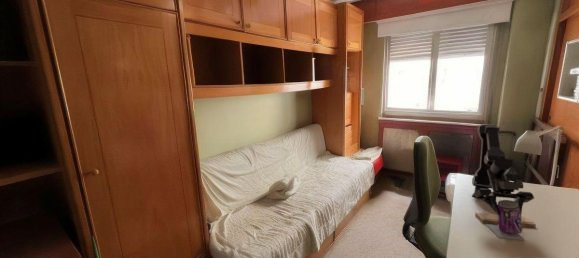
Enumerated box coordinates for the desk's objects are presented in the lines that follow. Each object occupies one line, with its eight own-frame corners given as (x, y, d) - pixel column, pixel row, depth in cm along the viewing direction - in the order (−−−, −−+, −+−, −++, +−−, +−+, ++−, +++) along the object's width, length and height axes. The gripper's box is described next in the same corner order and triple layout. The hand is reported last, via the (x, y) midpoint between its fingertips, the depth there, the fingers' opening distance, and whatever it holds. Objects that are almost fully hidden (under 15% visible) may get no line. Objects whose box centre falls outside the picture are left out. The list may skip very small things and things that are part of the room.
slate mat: (509, 226, 106) (509, 226, 106) (524, 240, 97) (524, 239, 97) (485, 224, 107) (485, 224, 107) (498, 237, 99) (498, 236, 99)
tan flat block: (525, 219, 111) (525, 216, 110) (535, 227, 105) (536, 223, 105) (475, 215, 115) (475, 212, 114) (482, 222, 109) (482, 219, 109)
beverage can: (513, 237, 97) (510, 209, 96) (494, 228, 104) (492, 202, 103) (526, 231, 99) (524, 204, 97) (507, 223, 106) (505, 197, 104)
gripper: (481, 170, 103) (491, 207, 95) (535, 173, 99) (551, 213, 90) (470, 180, 112) (479, 215, 104) (519, 184, 108) (532, 220, 99)
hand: (509, 216), depth 99 cm, fingers closed on beverage can, 7 cm apart
